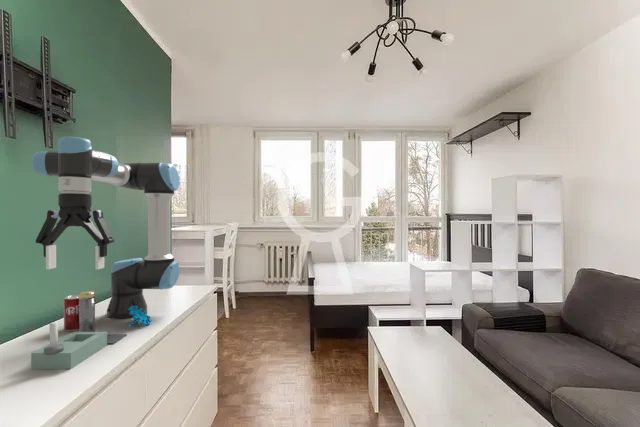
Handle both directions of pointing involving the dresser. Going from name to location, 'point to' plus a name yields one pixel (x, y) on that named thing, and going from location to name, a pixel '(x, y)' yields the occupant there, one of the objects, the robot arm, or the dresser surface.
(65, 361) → the fixture block
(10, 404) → the dresser surface
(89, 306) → the silver tall can
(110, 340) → the mat
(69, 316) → the soda can
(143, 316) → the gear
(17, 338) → the dresser surface
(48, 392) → the dresser surface
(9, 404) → the dresser surface
